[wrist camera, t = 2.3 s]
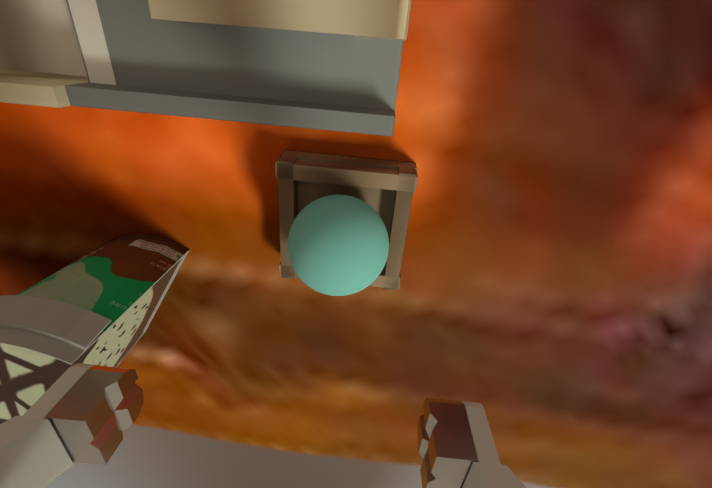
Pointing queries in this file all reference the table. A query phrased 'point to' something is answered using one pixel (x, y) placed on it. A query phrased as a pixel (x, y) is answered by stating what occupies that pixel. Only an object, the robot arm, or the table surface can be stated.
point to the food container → (82, 315)
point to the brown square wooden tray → (353, 178)
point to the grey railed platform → (233, 71)
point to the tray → (38, 53)
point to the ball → (338, 245)
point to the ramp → (295, 15)
